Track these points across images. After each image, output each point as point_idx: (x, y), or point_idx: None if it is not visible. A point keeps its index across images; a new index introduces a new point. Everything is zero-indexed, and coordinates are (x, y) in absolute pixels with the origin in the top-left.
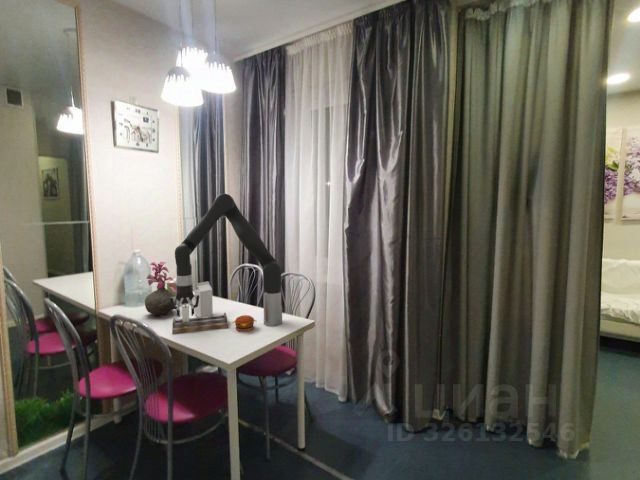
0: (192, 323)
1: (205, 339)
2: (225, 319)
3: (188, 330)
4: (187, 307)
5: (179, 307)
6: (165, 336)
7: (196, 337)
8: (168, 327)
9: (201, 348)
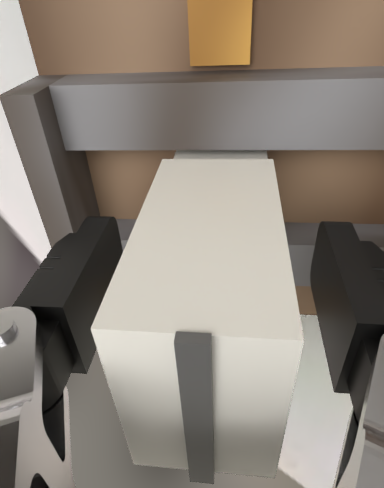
0: (298, 278)
1: (349, 412)
2: None
3: None
4: (251, 473)
5: (65, 438)
6: None
7: (298, 376)
8: (10, 85)
9: (302, 469)
